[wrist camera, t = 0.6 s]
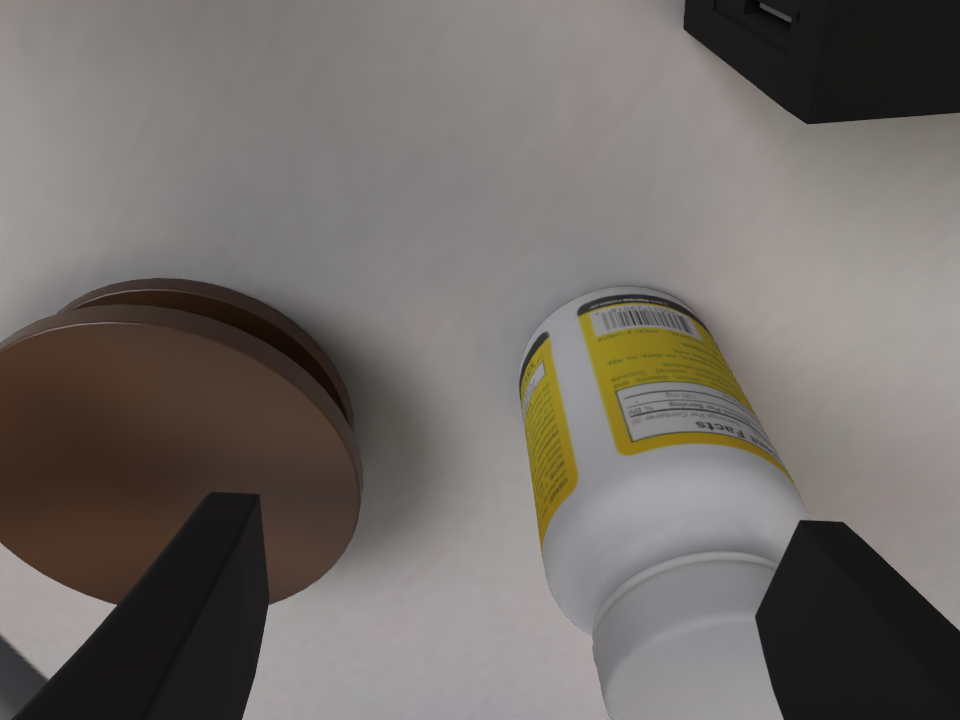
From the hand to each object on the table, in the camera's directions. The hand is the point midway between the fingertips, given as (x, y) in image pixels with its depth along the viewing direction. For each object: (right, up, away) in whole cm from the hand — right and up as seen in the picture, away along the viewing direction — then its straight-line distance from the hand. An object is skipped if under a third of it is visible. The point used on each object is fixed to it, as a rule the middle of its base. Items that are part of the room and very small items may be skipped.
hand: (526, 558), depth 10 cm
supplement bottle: (+3, +3, +11) cm, 12 cm away
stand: (-9, +1, +11) cm, 14 cm away
